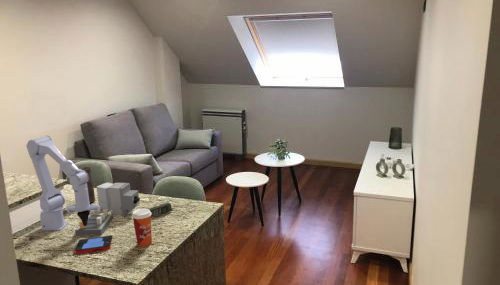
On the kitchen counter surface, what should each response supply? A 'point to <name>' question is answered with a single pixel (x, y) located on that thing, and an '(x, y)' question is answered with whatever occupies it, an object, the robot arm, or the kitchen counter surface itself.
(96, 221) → the breaker panel
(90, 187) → the candle
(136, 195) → the circuit breaker
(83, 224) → the block
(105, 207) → the supplement box
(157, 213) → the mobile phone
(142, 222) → the coffee cup
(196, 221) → the kitchen counter surface
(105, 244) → the game console
